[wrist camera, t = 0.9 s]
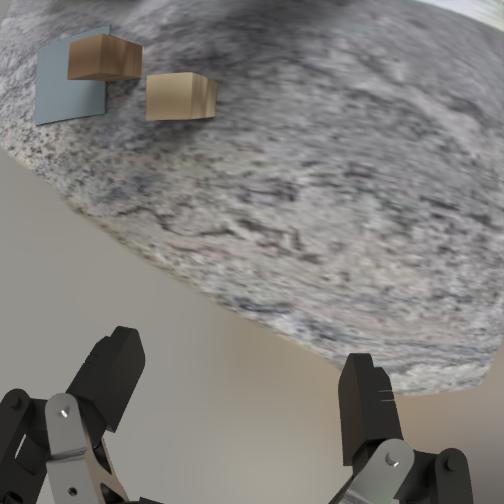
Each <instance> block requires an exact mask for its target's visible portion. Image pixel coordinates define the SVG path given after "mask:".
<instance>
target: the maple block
mask: <svg viewBox="0 0 504 504" xmlns="http://www.w3.org/2000/svg"><path fill="white" fill-rule="evenodd" d="M216 92H217V82H216V81H214V80H211V79H209V78H206V77H204V76H201V75H199V74H196V73H193V72H186V73H170V74H158V75H148V76H147V87H146V121H148V120H176V119H197V118H206V117H215V112H216Z"/></svg>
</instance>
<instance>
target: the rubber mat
mask: <svg viewBox="0 0 504 504" xmlns="http://www.w3.org/2000/svg"><path fill="white" fill-rule="evenodd" d="M110 31H111V25H106V26H103V27H99V28H95V29H92V30H88V31H85V32H82V33H79V34H76V35H73V36H70V37H67V38H64V39H61V40H59V41H56V42H53V43H51V44H48V45H46V46H43V47H41V48H39V49H38V59H37V72H36V94H35V120H36V125H39V124H44V123H49V122H54V121H59V120H65V119H71V118H77V117H83V116H90V115H97V114H105V113H106V84H107V81H92V80H67V75H68V60H69V49H70V43H71V42H74V41H77V40H81V39H84V38H87V37H91V36H94V35H98V34H102V33H103V34H107V35H110Z"/></svg>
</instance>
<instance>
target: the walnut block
mask: <svg viewBox="0 0 504 504" xmlns="http://www.w3.org/2000/svg"><path fill="white" fill-rule="evenodd" d="M143 54H144V47H143V46H140V45H138V44H135V43H132V42H129V41H126V40H123V39H120V38H116V37H113V36H110V35H107V34H103V33H102V34H98V35H94V36H91V37H87V38H84V39H81V40H77V41H74V42H71V43H70V49H69V60H68V75H67V80H92V81H110V82H115V81H121V80H128V79H136V78H142V68H143Z"/></svg>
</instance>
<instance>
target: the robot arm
mask: <svg viewBox="0 0 504 504" xmlns="http://www.w3.org/2000/svg"><path fill="white" fill-rule="evenodd" d="M144 366H145V354H144V350H143V347H142V343H141V340H140V336H139V333H138V331H137V330H136V329H133V328H128V327H123V326H118V327H116V329H115V330H114V332H113V333H112V335H111V337H108V336H105V337H104V338H103V339H101V340H100V341H99V342H97V343H96V344H95V346H94V348H93V349H92V351H91V352H90V355H88V357H87V358H86V360H85V363H83V365H82V366H81V368H80V370H79V371H78V373H77V375H76V376H75V378H74V379H73V381H72V383H71V385H70V386H69V388H68V389H67V391H66V392H65V393H59V394H56V395H54V396H52V397H51V398H50V399H49V400H43V399H33V398H30V397H29V396H28V394H27V393H26V392H25V391H24V390H22V389H13V390H11V391H9V392H8V393H7V394H6V395H5V396H4V398H3V400H2V401H1V403H0V504H36V502H37V499H38V496H39V493H40V490H41V487H42V485H43V482H44V479H45V477H46V474H47V472H48V476H49V481H50V485H51V489H52V493H53V497H54V501H55V504H163V503H159V502H156V501H152V500H149V499H146V498H142V497H140V500H139V501H129V499H128V496H127V494H126V492H125V490H124V488H123V486H122V485H121V483H120V482H119V480H118V478H117V476H116V474H115V471H114V468H113V466H112V463H111V460H110V457H109V454H108V451H107V448H106V444H105V441H104V438H103V434H104V432H105V430H107V431H110V432H113V433H115V431H116V429H117V427H118V425H119V422H120V420H121V418H122V415H123V413H124V411H125V408H126V407H127V404H128V402H129V400H130V398H131V395H132V393H133V391H134V389H135V387H136V384H137V382H138V380H139V378H140V376H141V374H142V371H143V369H144ZM338 395H339V407H340V419H341V432H342V446H343V466H353V474H352V475H351V477H350V478H349V479H348V481H347V482H346V483H345V484H344V485H343V487H342V488H341V489H340V490H339V492H338V493H337V494H336V495H335V496H334V497H333V499H332V500H331V501H330V502H329V503H328V504H389V503H390V502H391V500H392V499H398V500H399V504H473V495H472V487H471V480H470V474H469V468H468V463H467V459H466V456H465V455H464V454H463V453H462V452H461V451H460V450H458V449H455V448H448V449H445V450H443V451H442V452H441V453H440V454H431V453H425V452H419V451H416V450H413V449H412V447H411V446H410V445H409V444H408V443H407V442H405V441H404V439H403V436H402V433H401V427H400V422H399V418H398V413H397V408H396V404H395V401H394V395H393V392H392V387H391V383H390V379H389V377H388V375H387V374H386V373H385V371H384V370H383V368H382V367H374V366H373V361H372V357H371V355H370V354H369V353H350V354H349V356H348V358H347V361H346V364H345V366H344V369H343V371H342V374H341V376H340V380H339V385H338ZM24 434H25V435H26V438H25V439H24V442H23V444H22V446H21V449H20V450H19V453H18V455H17V457H16V459H15V454H16V452H17V449H18V447H19V445H20V443H21V440H22V438H23V436H24Z"/></svg>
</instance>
